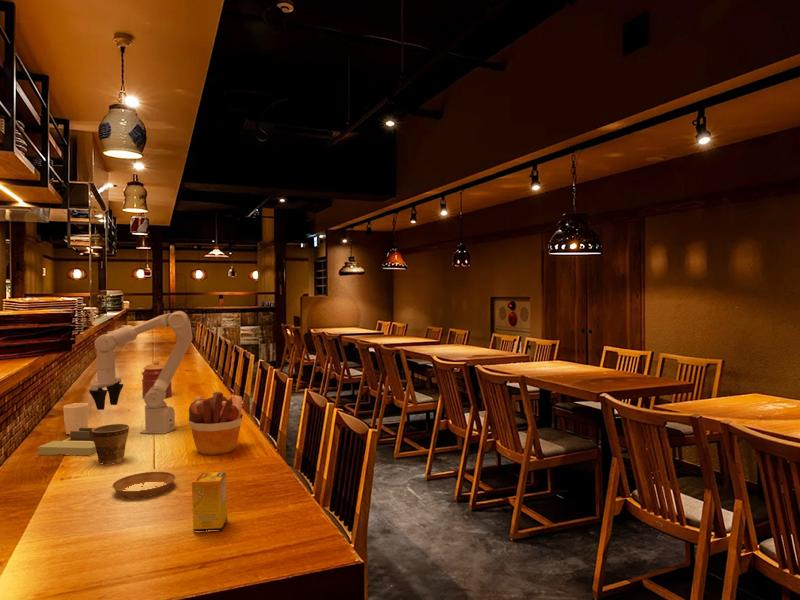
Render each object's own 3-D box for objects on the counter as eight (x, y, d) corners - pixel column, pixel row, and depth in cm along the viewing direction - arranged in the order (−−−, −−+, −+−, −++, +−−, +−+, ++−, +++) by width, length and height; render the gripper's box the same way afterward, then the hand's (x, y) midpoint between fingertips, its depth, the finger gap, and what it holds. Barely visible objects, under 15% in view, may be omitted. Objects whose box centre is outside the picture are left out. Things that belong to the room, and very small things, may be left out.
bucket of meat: (188, 445, 184) (186, 385, 183) (240, 439, 190) (238, 380, 190) (191, 463, 166) (189, 395, 165) (248, 456, 172) (247, 391, 171)
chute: (103, 444, 188) (102, 428, 188) (93, 448, 183) (93, 432, 183) (81, 443, 189) (80, 427, 189) (70, 448, 184) (70, 431, 184)
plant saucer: (131, 480, 152) (131, 471, 152) (185, 480, 152) (185, 470, 152) (100, 501, 138) (100, 491, 137) (159, 501, 137) (159, 491, 137)
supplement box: (200, 521, 124) (198, 472, 124) (227, 520, 125) (226, 471, 125) (192, 533, 118) (191, 481, 118) (221, 532, 119) (220, 480, 119)
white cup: (78, 436, 198) (77, 407, 198) (58, 435, 200) (57, 407, 199) (94, 430, 206) (93, 403, 206) (75, 429, 207) (74, 402, 207)
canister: (165, 399, 260) (164, 361, 260) (137, 400, 261) (136, 361, 260) (176, 394, 273) (175, 357, 273) (150, 394, 274) (149, 358, 273)
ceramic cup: (137, 457, 172) (136, 425, 172) (110, 467, 162) (109, 433, 162) (104, 454, 176) (103, 422, 176) (76, 463, 167) (75, 430, 166)
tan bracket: (117, 444, 187) (117, 436, 187) (91, 456, 174) (91, 447, 174) (67, 443, 189) (66, 435, 189) (37, 454, 176) (37, 446, 176)
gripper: (107, 365, 206) (109, 402, 206) (81, 372, 191) (83, 411, 192) (126, 365, 205) (127, 402, 206) (101, 371, 191) (102, 411, 191)
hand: (107, 407), depth 199 cm, fingers open, 7 cm apart
